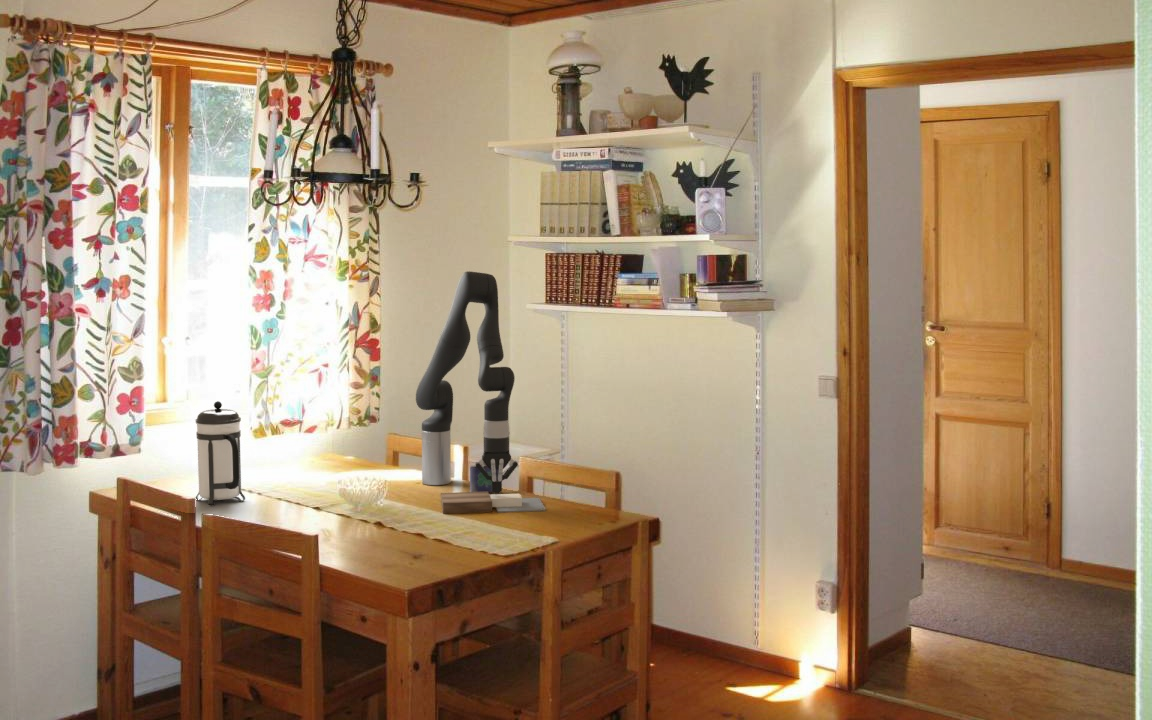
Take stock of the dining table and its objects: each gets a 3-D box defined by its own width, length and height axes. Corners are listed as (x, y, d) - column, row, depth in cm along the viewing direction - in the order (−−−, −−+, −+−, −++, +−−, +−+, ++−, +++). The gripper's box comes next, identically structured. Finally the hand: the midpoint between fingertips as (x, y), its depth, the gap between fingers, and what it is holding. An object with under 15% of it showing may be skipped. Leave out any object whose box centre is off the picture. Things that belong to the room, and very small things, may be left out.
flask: (470, 495, 339) (470, 460, 338) (468, 493, 341) (468, 458, 340) (499, 493, 342) (499, 459, 341) (497, 491, 344) (497, 457, 343)
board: (440, 502, 327) (440, 492, 327) (487, 501, 330) (487, 491, 329) (443, 513, 314) (443, 503, 313) (492, 511, 316) (492, 501, 316)
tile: (489, 502, 326) (489, 494, 326) (519, 501, 327) (519, 493, 327) (491, 507, 320) (491, 498, 320) (521, 506, 321) (521, 497, 321)
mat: (492, 500, 331) (492, 499, 331) (538, 498, 333) (538, 497, 333) (497, 512, 315) (497, 511, 315) (546, 510, 318) (546, 509, 317)
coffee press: (182, 506, 322) (179, 404, 319) (209, 494, 338) (206, 397, 335) (238, 508, 319) (235, 405, 317) (262, 496, 335) (260, 399, 332)
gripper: (517, 432, 326) (517, 490, 328) (472, 433, 324) (473, 491, 325) (520, 436, 319) (520, 495, 320) (474, 437, 316) (475, 497, 318)
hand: (496, 493), depth 323 cm, fingers closed
